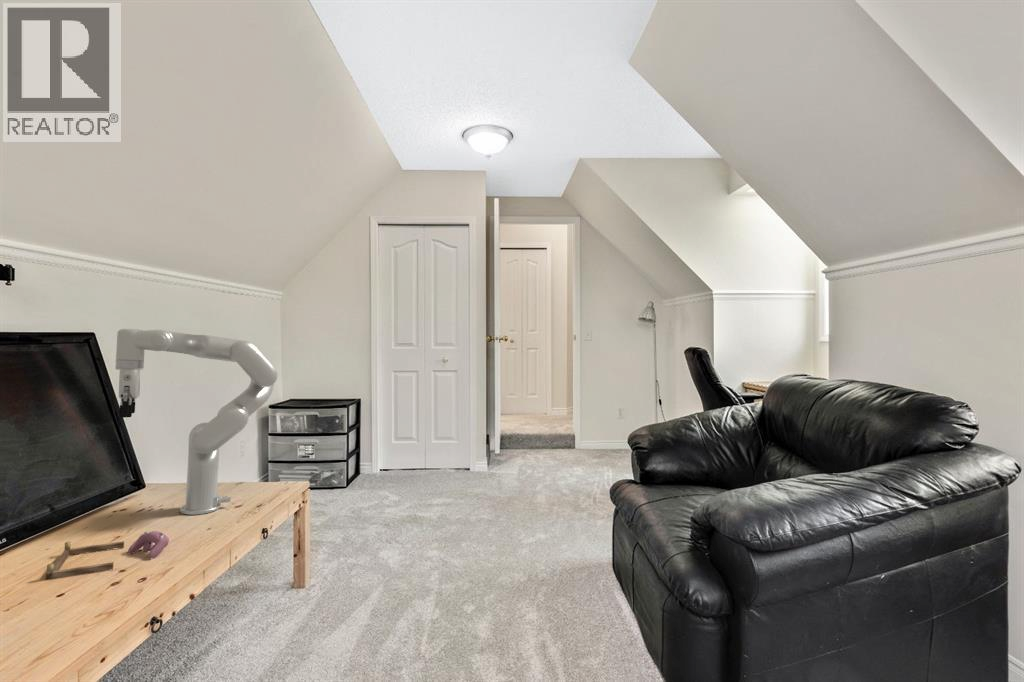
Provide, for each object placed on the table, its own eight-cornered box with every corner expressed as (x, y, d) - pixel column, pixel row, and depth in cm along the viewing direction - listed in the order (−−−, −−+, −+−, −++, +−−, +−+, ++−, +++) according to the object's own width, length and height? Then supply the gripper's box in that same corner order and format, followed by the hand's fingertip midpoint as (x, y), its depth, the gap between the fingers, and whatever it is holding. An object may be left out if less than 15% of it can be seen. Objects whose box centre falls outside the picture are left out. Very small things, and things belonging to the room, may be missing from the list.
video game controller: (163, 560, 138) (175, 535, 141) (148, 559, 134) (161, 533, 137) (139, 554, 141) (151, 529, 144) (124, 553, 137) (137, 527, 140)
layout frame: (123, 546, 142) (124, 534, 142) (112, 569, 128) (113, 556, 128) (64, 554, 135) (65, 542, 135) (45, 579, 121) (46, 566, 121)
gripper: (141, 366, 158) (138, 418, 157) (145, 364, 172) (143, 411, 172) (111, 366, 154) (108, 419, 153) (119, 363, 168) (116, 412, 168)
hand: (127, 415), depth 163 cm, fingers open, 9 cm apart
